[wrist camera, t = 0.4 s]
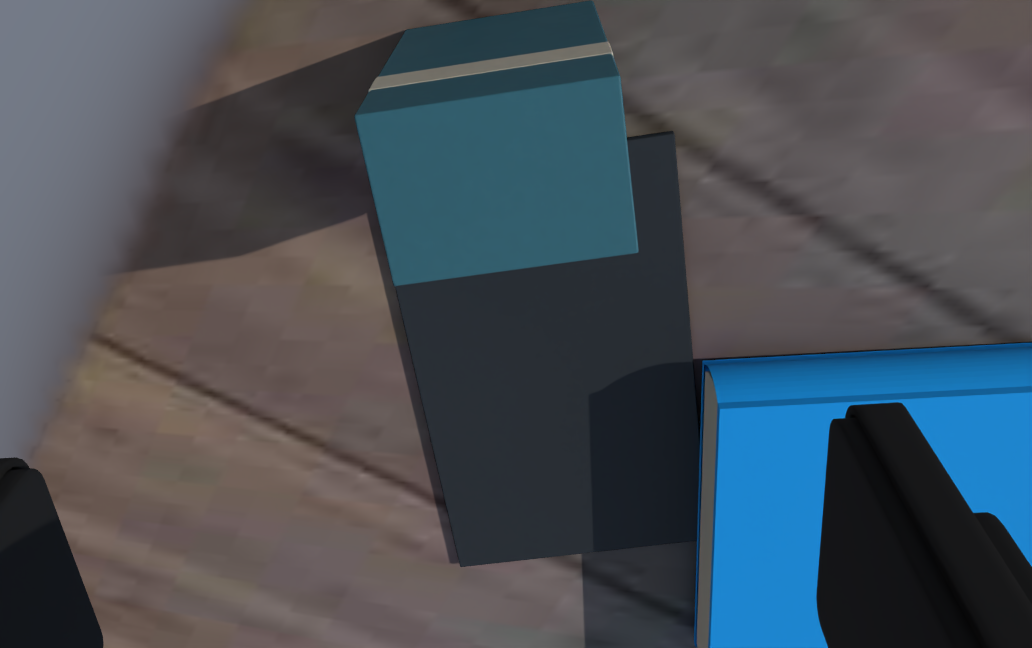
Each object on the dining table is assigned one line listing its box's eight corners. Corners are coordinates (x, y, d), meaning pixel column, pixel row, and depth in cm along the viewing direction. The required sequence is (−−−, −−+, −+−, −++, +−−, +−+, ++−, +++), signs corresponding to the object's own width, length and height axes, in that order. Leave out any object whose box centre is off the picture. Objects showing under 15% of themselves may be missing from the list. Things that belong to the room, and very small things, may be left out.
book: (1247, 678, 45) (709, 714, 46) (1188, 611, 49) (692, 645, 49) (1367, 357, 37) (717, 404, 38) (1286, 307, 41) (696, 350, 42)
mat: (371, 174, 39) (369, 178, 38) (673, 130, 38) (674, 133, 37) (460, 562, 48) (460, 567, 47) (706, 534, 47) (707, 539, 46)
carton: (404, 29, 36) (352, 114, 25) (593, -1, 36) (620, 74, 25) (431, 158, 38) (393, 288, 28) (608, 132, 38) (639, 254, 27)
